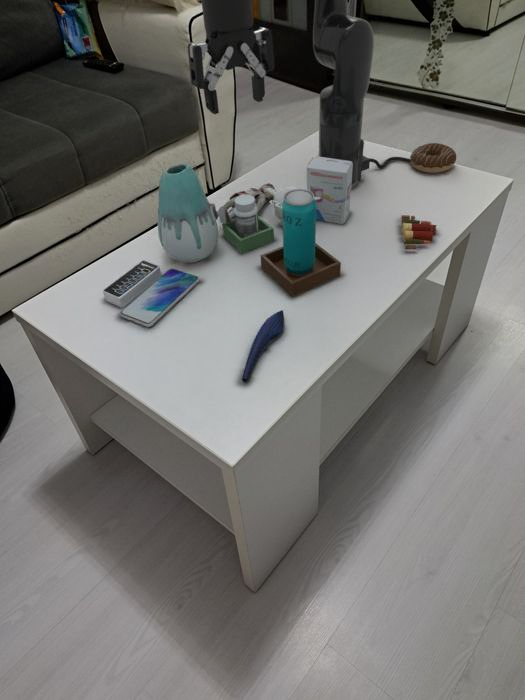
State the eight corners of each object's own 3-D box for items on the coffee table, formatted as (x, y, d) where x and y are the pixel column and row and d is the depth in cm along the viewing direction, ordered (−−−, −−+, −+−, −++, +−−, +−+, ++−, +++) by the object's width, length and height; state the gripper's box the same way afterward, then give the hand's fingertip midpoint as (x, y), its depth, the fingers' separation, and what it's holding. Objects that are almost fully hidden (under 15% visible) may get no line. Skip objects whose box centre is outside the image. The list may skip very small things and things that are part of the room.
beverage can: (293, 257, 96) (291, 185, 86) (319, 265, 94) (322, 191, 83) (278, 273, 93) (275, 200, 82) (306, 282, 91) (306, 207, 80)
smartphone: (117, 313, 87) (170, 267, 96) (119, 317, 88) (171, 271, 96) (149, 325, 84) (200, 276, 93) (150, 329, 85) (201, 280, 93)
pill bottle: (242, 228, 105) (238, 191, 99) (263, 232, 103) (260, 195, 97) (232, 240, 102) (228, 203, 96) (254, 244, 100) (250, 207, 94)
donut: (463, 170, 118) (467, 153, 115) (423, 179, 116) (426, 162, 113) (439, 153, 125) (442, 137, 122) (401, 161, 123) (403, 145, 120)
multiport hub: (105, 300, 91) (101, 290, 90) (145, 269, 97) (143, 259, 96) (122, 308, 89) (119, 298, 88) (162, 275, 95) (160, 266, 94)
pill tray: (255, 224, 106) (254, 212, 104) (274, 240, 102) (273, 228, 100) (223, 236, 104) (222, 223, 102) (241, 253, 99) (240, 240, 97)
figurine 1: (203, 202, 100) (260, 174, 113) (205, 228, 104) (261, 199, 117) (226, 207, 98) (282, 179, 110) (228, 235, 101) (282, 204, 114)
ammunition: (404, 252, 96) (439, 254, 95) (406, 243, 94) (441, 244, 94) (400, 220, 104) (431, 222, 104) (402, 211, 103) (434, 212, 102)
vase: (152, 255, 101) (130, 170, 88) (194, 230, 106) (179, 147, 93) (189, 277, 95) (172, 189, 82) (232, 249, 100) (222, 163, 88)
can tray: (307, 249, 99) (307, 236, 97) (340, 275, 92) (341, 262, 90) (261, 268, 95) (260, 255, 93) (292, 297, 89) (291, 283, 87)
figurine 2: (273, 217, 111) (253, 225, 103) (277, 178, 107) (257, 184, 99) (324, 228, 107) (307, 237, 99) (330, 188, 103) (313, 194, 95)
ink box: (305, 219, 107) (305, 166, 98) (312, 207, 110) (313, 155, 102) (343, 225, 104) (347, 171, 96) (350, 213, 107) (354, 160, 99)
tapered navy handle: (253, 389, 76) (255, 380, 74) (232, 380, 76) (233, 371, 74) (290, 318, 85) (292, 309, 83) (271, 311, 85) (273, 302, 83)
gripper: (193, 2, 68) (209, 124, 80) (280, -15, 73) (283, 102, 84) (171, -5, 73) (189, 110, 84) (254, -21, 77) (261, 91, 89)
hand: (236, 106), depth 84 cm, fingers open, 8 cm apart
